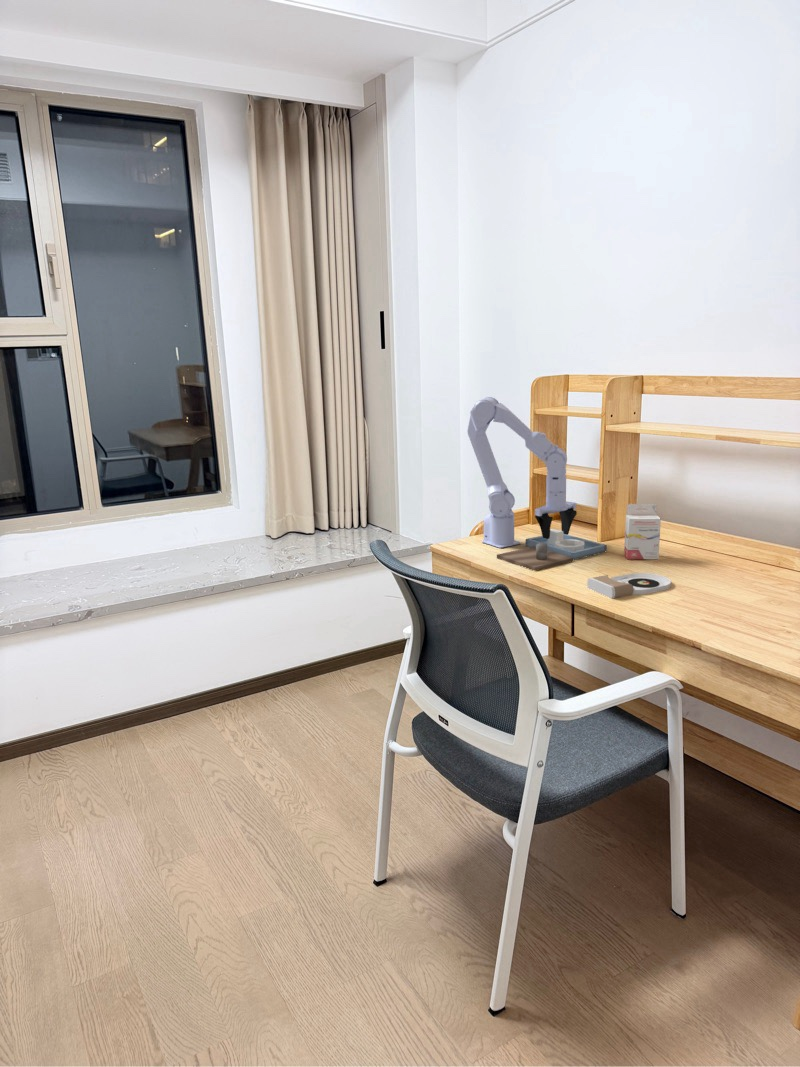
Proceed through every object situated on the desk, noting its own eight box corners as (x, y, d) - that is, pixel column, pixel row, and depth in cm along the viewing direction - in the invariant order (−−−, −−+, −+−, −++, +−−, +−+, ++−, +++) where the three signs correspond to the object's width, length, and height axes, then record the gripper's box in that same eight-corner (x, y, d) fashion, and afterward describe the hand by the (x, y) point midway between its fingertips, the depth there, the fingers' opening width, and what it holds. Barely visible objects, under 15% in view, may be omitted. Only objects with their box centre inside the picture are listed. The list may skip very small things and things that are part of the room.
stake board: (496, 558, 213) (496, 541, 212) (534, 549, 220) (534, 533, 219) (534, 570, 200) (534, 552, 198) (573, 561, 206) (573, 543, 205)
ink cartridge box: (627, 560, 206) (629, 507, 202) (623, 555, 210) (625, 504, 207) (659, 559, 205) (661, 507, 201) (655, 554, 209) (657, 503, 206)
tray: (525, 545, 224) (525, 539, 224) (557, 538, 231) (557, 532, 230) (573, 560, 208) (573, 553, 207) (606, 551, 214) (606, 545, 214)
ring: (540, 544, 222) (540, 531, 221) (561, 540, 226) (561, 527, 225) (569, 553, 212) (569, 539, 211) (590, 548, 216) (590, 534, 215)
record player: (584, 576, 185) (647, 564, 192) (584, 588, 185) (647, 576, 193) (615, 589, 174) (681, 576, 182) (615, 601, 175) (680, 588, 183)
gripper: (546, 496, 212) (546, 542, 215) (584, 489, 219) (583, 534, 222) (530, 492, 218) (530, 538, 221) (567, 486, 225) (566, 530, 228)
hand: (555, 536), depth 222 cm, fingers open, 7 cm apart
